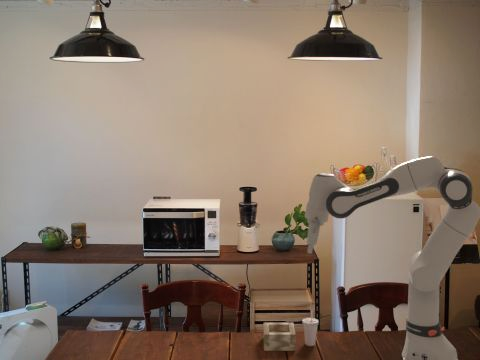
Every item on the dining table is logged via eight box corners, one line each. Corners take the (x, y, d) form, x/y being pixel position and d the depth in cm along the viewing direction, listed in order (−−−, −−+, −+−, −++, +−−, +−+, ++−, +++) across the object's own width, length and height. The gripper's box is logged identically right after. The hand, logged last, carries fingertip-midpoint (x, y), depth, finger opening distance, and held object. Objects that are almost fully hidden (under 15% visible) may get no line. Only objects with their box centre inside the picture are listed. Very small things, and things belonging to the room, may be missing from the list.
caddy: (293, 337, 252) (293, 322, 251) (295, 350, 240) (295, 334, 239) (263, 338, 252) (263, 322, 251) (264, 350, 240) (264, 334, 239)
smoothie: (317, 348, 242) (318, 313, 240) (301, 346, 244) (301, 312, 242) (319, 341, 249) (319, 307, 246) (302, 340, 250) (303, 306, 248)
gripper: (324, 223, 227) (317, 259, 229) (325, 210, 246) (318, 243, 249) (307, 219, 227) (300, 255, 230) (309, 207, 247) (302, 240, 250)
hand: (309, 249), depth 240 cm, fingers open, 8 cm apart
